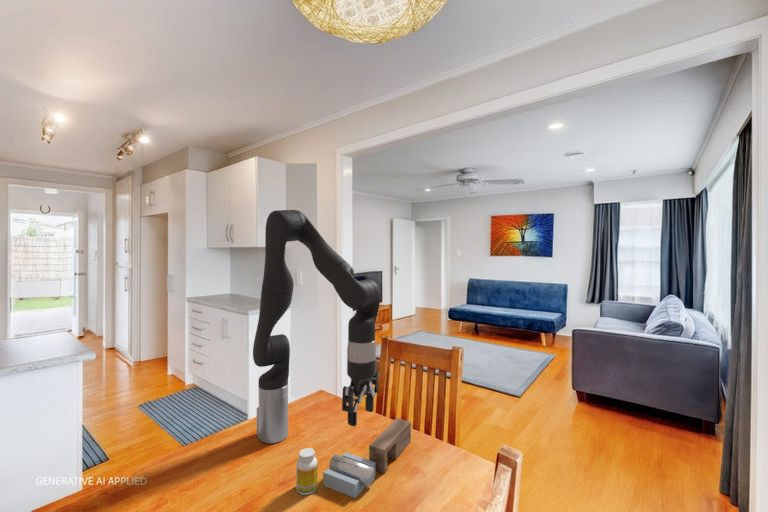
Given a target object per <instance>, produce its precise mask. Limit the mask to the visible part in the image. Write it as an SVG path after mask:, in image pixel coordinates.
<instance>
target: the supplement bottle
mask: <svg viewBox="0 0 768 512" xmlns="http://www.w3.org/2000/svg"><path fill="white" fill-rule="evenodd" d="M295 467H296V468H295V469H296V470H295V472H296V473H295V474H296V476H295V478H296V479H295V481H296V482H295V488H296V492H297V493H299V494H300V495H303V496H308V495H311V494H313V493H314V492H315V491H316V490H317V488H318V459H317V458H316V451H315V449H314V448H312V447H306V448H303V449H301V450H299V452H298V460H297V461H296V465H295Z"/></svg>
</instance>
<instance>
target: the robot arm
mask: <svg viewBox="0 0 768 512" xmlns="http://www.w3.org/2000/svg"><path fill="white" fill-rule="evenodd" d="M295 241H298V242H300V243H301V244H303V245H304V246H305V247H306V248H307V249H308V250H309V252H310V254H311V257H312V262H313V264H314V267H315V268H316V269H317V271H318V272H319V273H320V275H322V277H324V278H325V279H326V280H327V281H328V282H329V283H330V284H331V285H332V286H333V288H334V290H335V292H336V294H337V295H338V297H339V298H340V300H341V301H342V302H343V304H345V305H346V306H347V307H349V308H350V309H352V310H355V314H354V315H353V316H352V317H351V318H350V319H349V320H348V326H347V328H348V330H347V331H348V335H347V337H348V338H347V340H348V341H347V348H346V354H347V355H346V357H347V358H346V359H347V362H346V374H347V376H348V377H349V379H350V383H349V386H343V387H342V397H341V398H342V401H341V404H342V405H341V410H342V411H343V412H347V424H348V425H349V426H350V427H356V425H357V424H358V423H357V422H358V418H357V417H358V414H357V413H358V407H359V404H361V403H362V400H363V397H364V396H365V400H364V401H365V404H364V405H365V406H364V407H365V412H369V413H372V412H374V409H375V408H374V406H375V405H374V404H375V402H374V401H375V397H376V394H378V393H379V372H378V371H377V344H376V321H377V319H378V314H379V309H380V304H381V290H380V287H379V285H378V284H377V283H376V282H375V281H374V280H372V279H362V280H357V279H356V278H355V277H354V274H355V273H354V268H353V267H352V266H351V265H350V264H349V263H348V262H347V260H345V259H344V258H343V257H342V256H340V254H338V252H336V250H334V249H333V247H331V246H330V244H329V243H328V242H327V241H326V240H325V239H324V238H323V236H322V235H321V233H319V231H318V230H317V228H316V227H315V226H314V225H313V223H312V221H310V219H309V218H308V216H307V215H305V214H304V212H301V211H300V210H296V209H282V210H281V209H280V210H277V209H276V210H273V211H271V212H270V213H269V214H268V216H267V218H266V223H265V246H264V247H265V248H264V250H265V254H264V255H265V257H264V268H263V278H262V283H261V290H260V291H261V293H260V302H259V303H260V305H259V314H258V320H257V325H256V332H255V336H254V340H253V346H252V358H253V362H254V364H255V366H257V367H259V368H263V367H269V366H271V368H270V369H268V370H267V371H265V372H264V373H262V374H261V375H260V376H259V378H258V407H257V408H256V437H257V436H259V437H258V439H260V440H259V441H260V442H261V441H262V442H261V443H263V442H265V443H264V444H268V443H269V444H270V445H271V444H276V443H279V442H282V441H284V440H285V439H286V438H287V437H288V436H289V375H290V358H291V357H290V356H291V347H290V340H289V337H288V336H287V335H286V334H274V335H272V332H273V330H274V327H276V325H277V323H278V322H279V321H280V319H282V317H283V316H284V315H285V313H286V312H287V311H288V309H289V308H290V306H291V303H292V300H293V293H294V286H295V285H294V279H293V276H292V274H291V271H290V270H289V268H288V266H287V263H286V259H285V258H286V257H285V255H286V246H287V243H288V242H295ZM269 444H268V445H269Z"/></svg>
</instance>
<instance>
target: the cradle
mask: <svg viewBox="0 0 768 512" xmlns="http://www.w3.org/2000/svg"><path fill="white" fill-rule="evenodd" d="M341 456H342V457H345V458H348V459H351V460H354V461H357V462H360V463H362V464H365V465H368V466H371V467H374V468H375V471H376V462H373V461H370V460H369V459H367V458H364V457H361V456H358V455H355V454H352V453H349V452H346V451H345V452H343V454H342V455H341ZM376 472H377V471H376ZM376 475H377V473H375V476H376ZM322 483H323V484H322V485H323V486H324V487H327V488H329V489H331V490H334V491H335V492H338V493H341V494H342V495H345V496H348V497H350V498H354V499H356V498H357V497H358V496H359V495H360V494H361V493H362V492H363V490H364V489H365V488H366V487H367V485H365V484H363V483H360V482H359V481H358V480H355V479H352V478H350V477H347V476H344V475H342V474H339V473H337V472H334V471H331V470H329V468H326V469H325V470H324V471H323V472H322Z"/></svg>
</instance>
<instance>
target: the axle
mask: <svg viewBox="0 0 768 512" xmlns="http://www.w3.org/2000/svg"><path fill="white" fill-rule="evenodd" d="M328 469H329V470H331V471H334V472H337V473H339V474H342V475H344V476H347V477H350V478H352V479H355V480H358V481H359V482H360V483H363V484H365V485H366V486H369V487H370V486H372V485H373V483H374V481H375V478H376V475H375V473H376V472H377V471H375V468H374V467H371V466H368V465H365V464H362V463H360V462H357V461H354V460H351V459H348V458H345V457H342V455H340V454H337V453H336V454H333V455H332V457H331V459H330V461H329V465H328ZM376 474H377V473H376Z"/></svg>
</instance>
